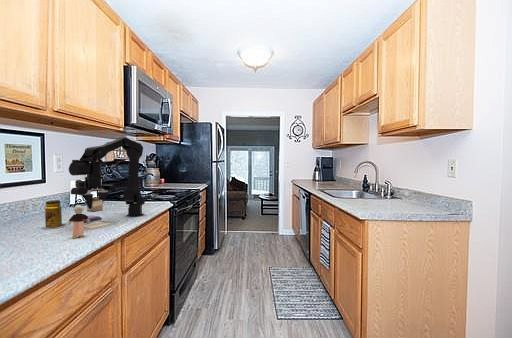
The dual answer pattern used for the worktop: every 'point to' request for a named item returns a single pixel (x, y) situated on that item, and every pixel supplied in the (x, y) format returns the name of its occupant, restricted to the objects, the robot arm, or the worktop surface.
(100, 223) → the cream square plate
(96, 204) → the stamp
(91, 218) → the ink pad
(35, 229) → the worktop surface
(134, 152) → the robot arm
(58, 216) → the condiment
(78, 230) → the grandmother figurine
